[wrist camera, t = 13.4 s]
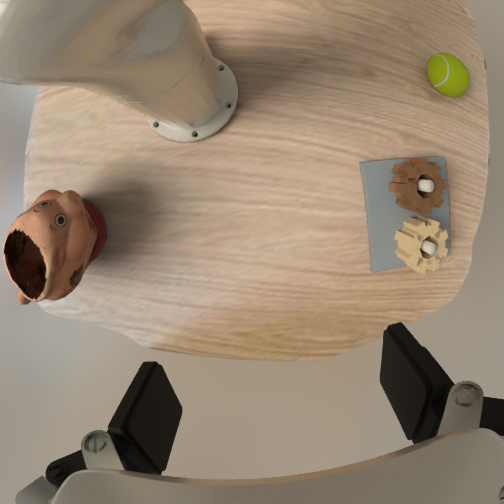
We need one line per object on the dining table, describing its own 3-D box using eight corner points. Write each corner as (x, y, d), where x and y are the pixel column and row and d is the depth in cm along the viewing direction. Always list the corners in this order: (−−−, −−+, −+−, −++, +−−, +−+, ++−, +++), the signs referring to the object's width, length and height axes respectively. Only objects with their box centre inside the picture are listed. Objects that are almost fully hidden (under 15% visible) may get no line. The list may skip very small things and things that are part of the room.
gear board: (359, 162, 32) (377, 160, 27) (439, 156, 31) (464, 156, 26) (370, 270, 36) (387, 286, 31) (445, 252, 35) (467, 264, 29)
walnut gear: (385, 160, 31) (399, 159, 27) (426, 157, 30) (442, 156, 27) (391, 213, 33) (405, 218, 29) (431, 207, 32) (447, 211, 28)
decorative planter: (86, 306, 40) (39, 349, 26) (40, 263, 38) (-12, 292, 24) (136, 208, 35) (76, 228, 22) (80, 163, 33) (14, 165, 20)
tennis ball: (421, 94, 29) (447, 84, 22) (415, 55, 27) (438, 40, 20) (454, 105, 29) (481, 98, 22) (448, 67, 27) (472, 56, 20)
